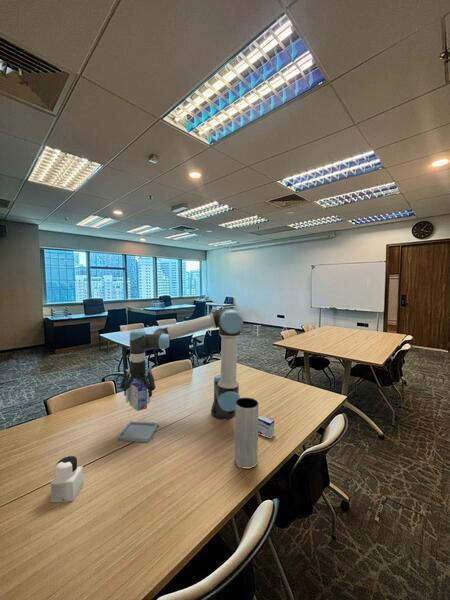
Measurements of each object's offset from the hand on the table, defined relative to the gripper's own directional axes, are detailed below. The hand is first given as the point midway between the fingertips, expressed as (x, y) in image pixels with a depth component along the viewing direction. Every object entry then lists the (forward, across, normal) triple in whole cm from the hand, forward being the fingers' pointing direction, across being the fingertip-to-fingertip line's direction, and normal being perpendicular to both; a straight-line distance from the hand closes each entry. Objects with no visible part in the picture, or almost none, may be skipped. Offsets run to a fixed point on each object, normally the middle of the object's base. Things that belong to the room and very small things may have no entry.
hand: (138, 402), depth 131 cm
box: (+17, -66, -6) cm, 68 cm away
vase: (+17, -56, +15) cm, 60 cm away
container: (+17, +10, +39) cm, 44 cm away
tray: (+17, 0, 0) cm, 17 cm away
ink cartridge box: (+3, 0, 0) cm, 3 cm away
